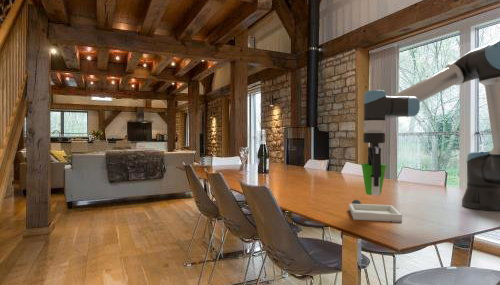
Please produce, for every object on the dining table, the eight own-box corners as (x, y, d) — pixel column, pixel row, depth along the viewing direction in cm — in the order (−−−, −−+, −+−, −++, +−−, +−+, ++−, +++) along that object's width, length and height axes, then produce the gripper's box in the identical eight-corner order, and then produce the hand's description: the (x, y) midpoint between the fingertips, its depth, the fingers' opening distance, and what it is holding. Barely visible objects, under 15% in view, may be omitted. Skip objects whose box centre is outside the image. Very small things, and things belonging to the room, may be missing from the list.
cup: (382, 192, 125) (382, 163, 125) (389, 196, 116) (390, 165, 116) (358, 191, 126) (358, 163, 126) (363, 196, 117) (364, 165, 117)
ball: (360, 207, 134) (360, 199, 134) (361, 209, 131) (361, 200, 131) (351, 207, 135) (351, 198, 135) (352, 209, 132) (352, 200, 131)
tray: (392, 211, 127) (392, 205, 127) (402, 222, 112) (402, 214, 112) (349, 209, 131) (349, 203, 131) (353, 219, 115) (353, 212, 115)
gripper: (360, 132, 132) (359, 188, 132) (367, 131, 111) (366, 197, 111) (379, 132, 130) (379, 188, 131) (391, 131, 109) (390, 198, 110)
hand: (373, 192), depth 121 cm, fingers closed on cup, 9 cm apart
